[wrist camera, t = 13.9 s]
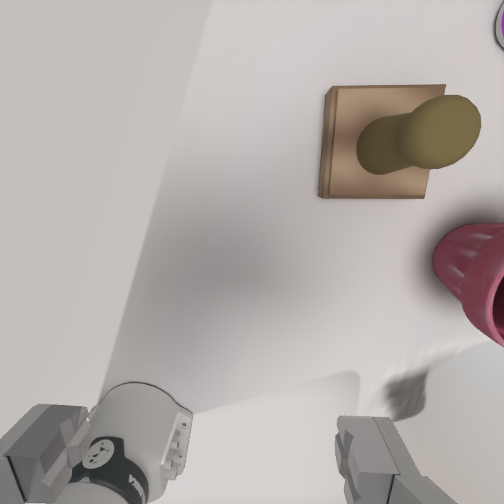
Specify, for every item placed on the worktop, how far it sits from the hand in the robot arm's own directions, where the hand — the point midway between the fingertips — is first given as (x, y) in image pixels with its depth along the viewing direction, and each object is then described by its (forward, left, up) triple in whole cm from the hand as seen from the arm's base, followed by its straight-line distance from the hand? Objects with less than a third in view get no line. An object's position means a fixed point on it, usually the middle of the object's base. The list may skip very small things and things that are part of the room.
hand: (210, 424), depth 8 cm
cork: (+11, -15, -25) cm, 31 cm away
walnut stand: (+11, -15, -29) cm, 34 cm away
